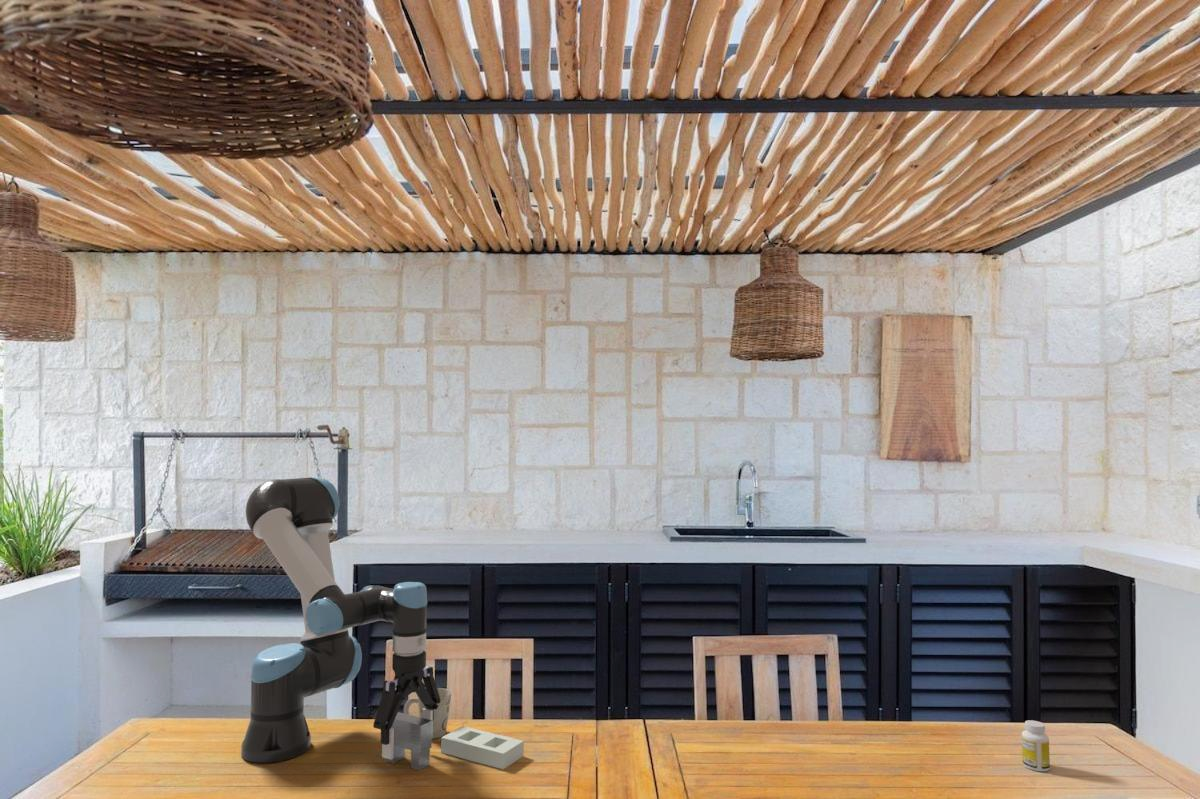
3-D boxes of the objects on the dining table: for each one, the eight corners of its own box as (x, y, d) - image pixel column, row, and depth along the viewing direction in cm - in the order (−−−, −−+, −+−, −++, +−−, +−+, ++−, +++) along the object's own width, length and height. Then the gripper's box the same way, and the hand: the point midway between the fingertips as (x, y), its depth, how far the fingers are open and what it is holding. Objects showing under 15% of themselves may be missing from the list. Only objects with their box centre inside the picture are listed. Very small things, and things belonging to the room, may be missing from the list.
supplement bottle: (1046, 763, 172) (1045, 720, 173) (1052, 774, 167) (1051, 729, 168) (1020, 760, 174) (1019, 717, 175) (1025, 770, 169) (1024, 726, 169)
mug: (442, 742, 183) (443, 700, 183) (394, 737, 185) (395, 696, 186) (455, 728, 191) (456, 689, 191) (410, 724, 193) (410, 685, 194)
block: (441, 752, 176) (441, 737, 177) (462, 740, 183) (463, 726, 184) (503, 769, 168) (503, 753, 168) (523, 756, 175) (523, 740, 175)
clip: (384, 760, 172) (385, 716, 172) (395, 754, 175) (395, 711, 176) (420, 771, 167) (421, 725, 167) (431, 765, 170) (431, 720, 170)
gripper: (382, 668, 160) (380, 771, 159) (456, 641, 181) (455, 732, 180) (357, 663, 163) (355, 764, 162) (432, 637, 184) (431, 726, 183)
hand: (407, 747), depth 171 cm, fingers open, 12 cm apart
